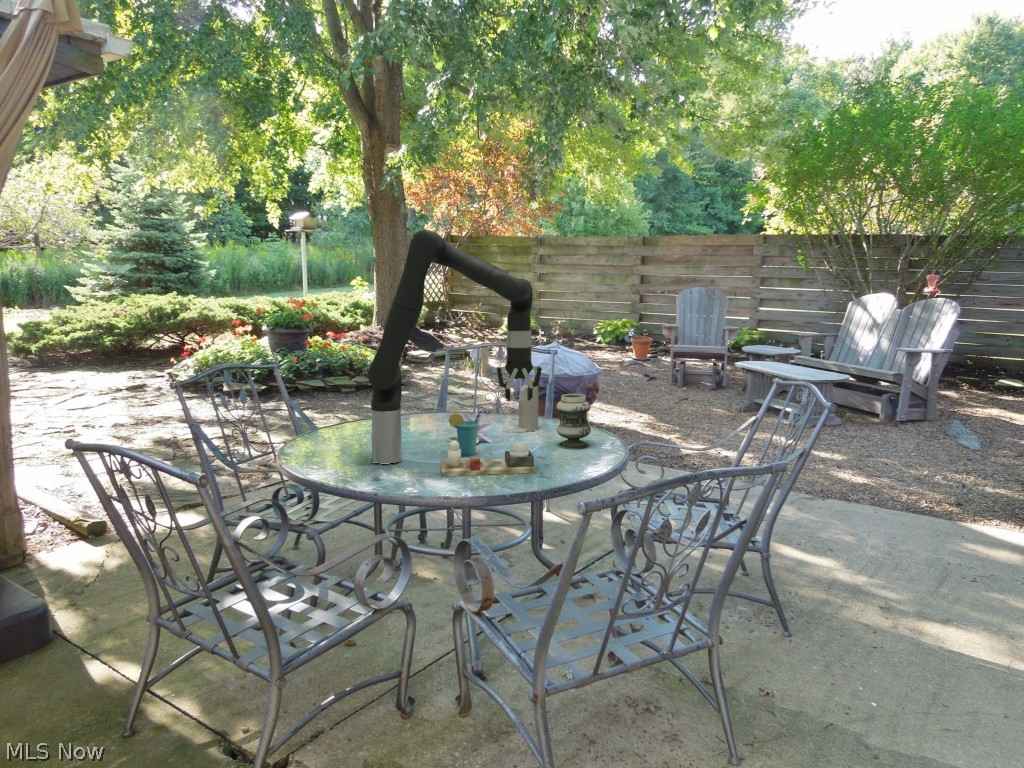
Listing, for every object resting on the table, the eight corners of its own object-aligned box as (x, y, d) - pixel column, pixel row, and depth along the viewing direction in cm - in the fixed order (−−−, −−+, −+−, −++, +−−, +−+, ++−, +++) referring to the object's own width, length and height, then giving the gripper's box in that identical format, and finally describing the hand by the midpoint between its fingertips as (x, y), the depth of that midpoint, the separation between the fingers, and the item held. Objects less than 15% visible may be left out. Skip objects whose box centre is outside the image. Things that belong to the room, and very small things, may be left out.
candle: (501, 429, 259) (500, 378, 256) (534, 427, 263) (534, 377, 260) (506, 433, 253) (506, 381, 249) (540, 431, 257) (541, 379, 253)
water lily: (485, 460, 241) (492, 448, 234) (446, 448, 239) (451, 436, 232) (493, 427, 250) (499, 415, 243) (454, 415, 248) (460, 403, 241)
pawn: (448, 467, 202) (447, 442, 200) (447, 463, 205) (447, 439, 204) (461, 467, 202) (461, 442, 201) (460, 463, 206) (460, 439, 205)
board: (442, 476, 198) (441, 461, 197) (441, 465, 209) (440, 451, 209) (534, 473, 201) (534, 458, 200) (528, 462, 213) (528, 448, 212)
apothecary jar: (561, 440, 242) (561, 391, 239) (593, 442, 238) (594, 393, 235) (552, 448, 231) (552, 397, 228) (586, 450, 227) (587, 399, 224)
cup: (489, 450, 228) (489, 407, 225) (492, 456, 220) (491, 412, 218) (448, 452, 226) (447, 408, 223) (450, 458, 218) (449, 413, 216)
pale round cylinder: (510, 462, 203) (510, 443, 202) (508, 457, 209) (508, 439, 208) (530, 461, 204) (530, 443, 203) (527, 456, 209) (527, 438, 208)
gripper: (496, 347, 196) (496, 403, 199) (544, 346, 198) (544, 402, 200) (494, 344, 203) (494, 398, 206) (540, 343, 205) (540, 397, 208)
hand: (519, 400), depth 203 cm, fingers open, 5 cm apart
